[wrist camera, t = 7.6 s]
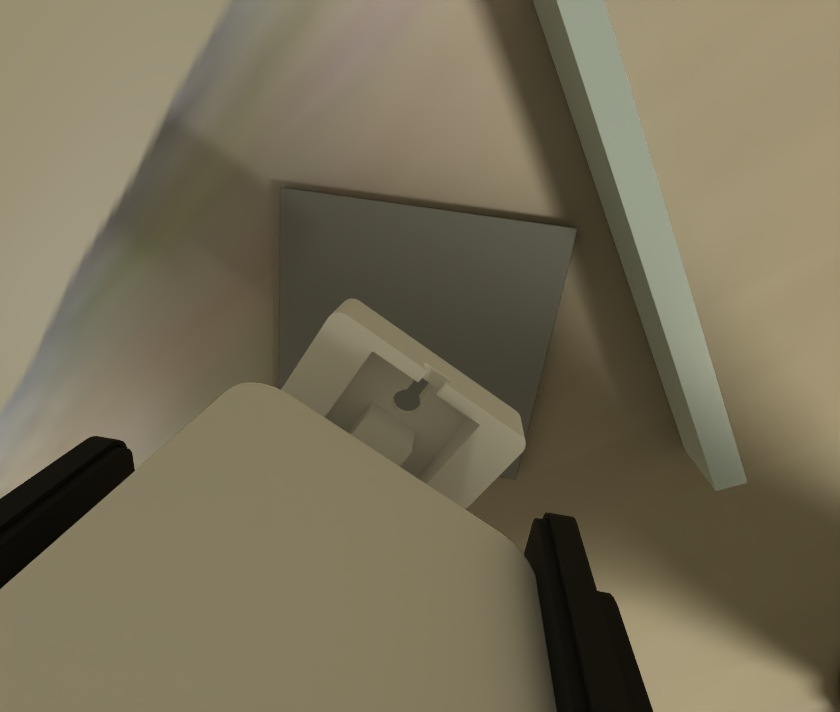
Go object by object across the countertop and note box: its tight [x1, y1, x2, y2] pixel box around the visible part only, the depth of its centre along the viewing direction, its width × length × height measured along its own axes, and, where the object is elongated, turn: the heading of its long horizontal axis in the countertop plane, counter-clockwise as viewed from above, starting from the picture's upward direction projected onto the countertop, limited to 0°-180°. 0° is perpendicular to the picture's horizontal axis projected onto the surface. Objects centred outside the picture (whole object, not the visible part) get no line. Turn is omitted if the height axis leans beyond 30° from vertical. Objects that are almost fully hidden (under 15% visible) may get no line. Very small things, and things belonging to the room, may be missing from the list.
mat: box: [279, 188, 577, 480], centre depth 21 cm, size 12×12×1 cm
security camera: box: [0, 298, 557, 712], centre depth 8 cm, size 6×7×10 cm
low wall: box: [533, 0, 748, 491], centre depth 17 cm, size 20×1×3 cm, turn 26°
